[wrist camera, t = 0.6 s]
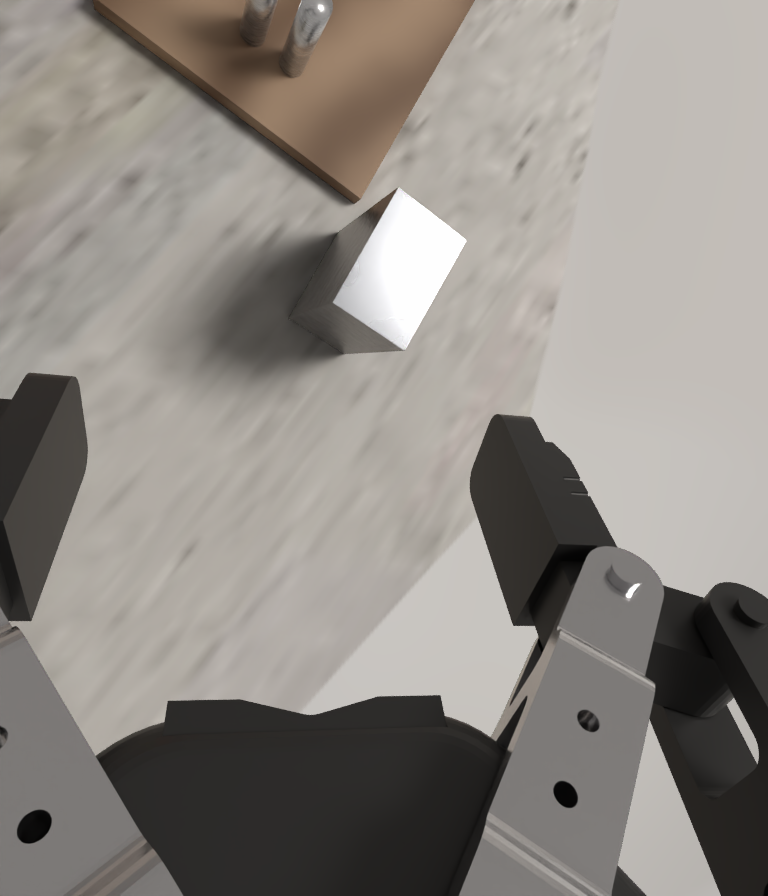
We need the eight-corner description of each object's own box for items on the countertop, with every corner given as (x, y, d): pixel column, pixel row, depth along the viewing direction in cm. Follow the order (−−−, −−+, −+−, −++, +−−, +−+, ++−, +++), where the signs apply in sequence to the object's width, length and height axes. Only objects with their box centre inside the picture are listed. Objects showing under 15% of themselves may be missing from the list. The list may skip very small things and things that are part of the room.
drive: (288, 318, 36) (332, 302, 27) (338, 231, 37) (399, 185, 27) (344, 354, 38) (404, 350, 28) (392, 269, 38) (467, 239, 29)
